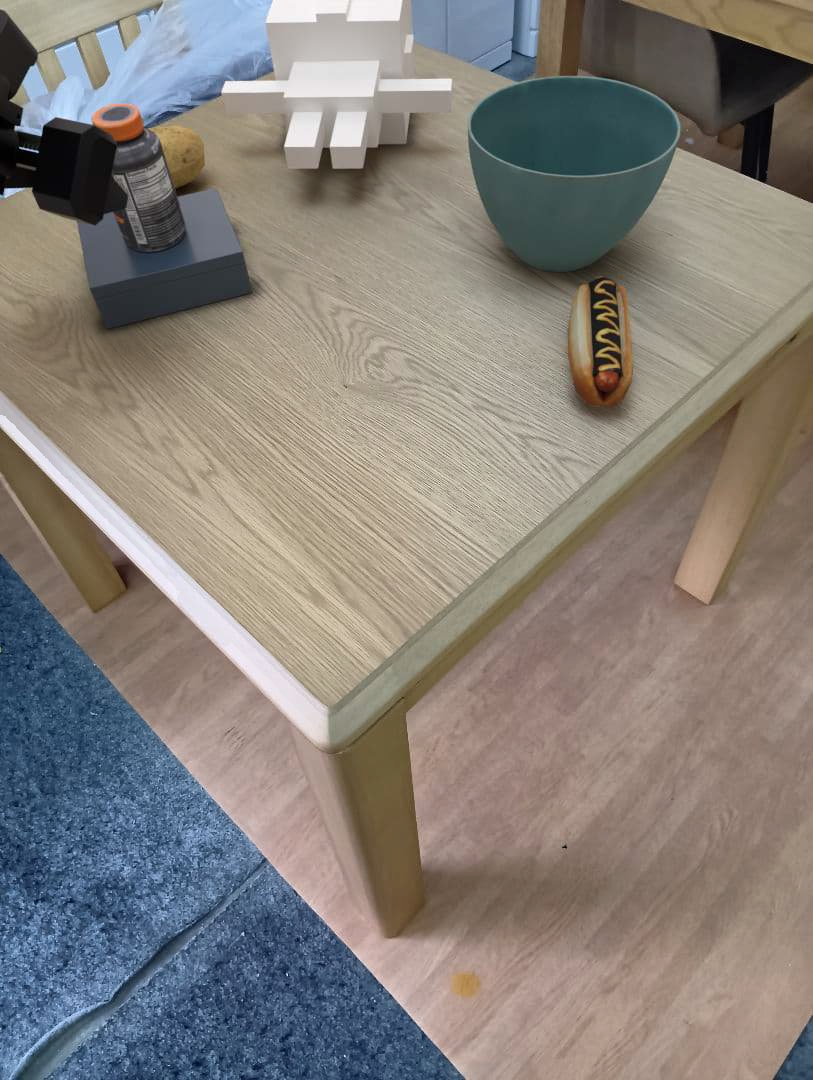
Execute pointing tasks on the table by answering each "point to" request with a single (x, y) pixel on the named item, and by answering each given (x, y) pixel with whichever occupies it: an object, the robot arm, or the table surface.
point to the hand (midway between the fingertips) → (80, 190)
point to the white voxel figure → (340, 79)
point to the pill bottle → (142, 181)
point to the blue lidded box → (165, 265)
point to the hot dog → (600, 343)
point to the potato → (181, 153)
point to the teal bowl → (569, 164)
